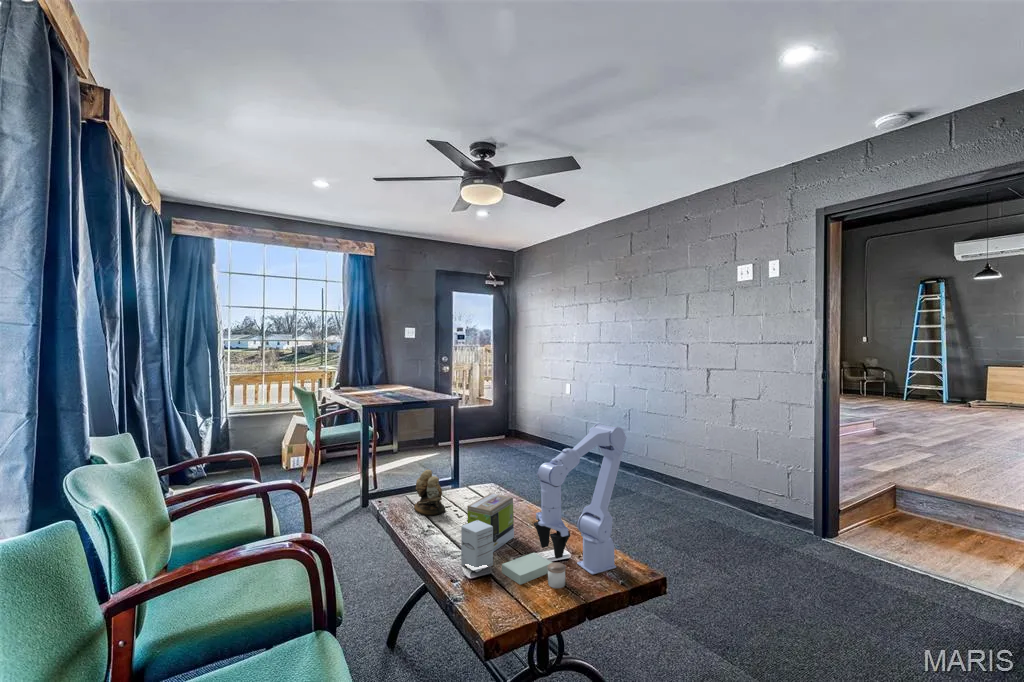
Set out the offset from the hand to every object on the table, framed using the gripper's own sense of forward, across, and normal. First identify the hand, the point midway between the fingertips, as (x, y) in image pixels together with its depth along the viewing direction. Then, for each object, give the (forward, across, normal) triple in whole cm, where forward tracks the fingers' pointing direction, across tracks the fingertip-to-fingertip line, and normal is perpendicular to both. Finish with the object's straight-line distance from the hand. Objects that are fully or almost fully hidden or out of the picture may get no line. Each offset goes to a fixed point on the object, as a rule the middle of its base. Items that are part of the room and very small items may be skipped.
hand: (551, 551), depth 137 cm
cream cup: (+9, 0, +1) cm, 9 cm away
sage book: (+10, -10, -3) cm, 14 cm away
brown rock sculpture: (+10, -74, -13) cm, 76 cm away
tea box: (+10, -34, -4) cm, 35 cm away
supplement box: (+10, -20, -15) cm, 27 cm away
